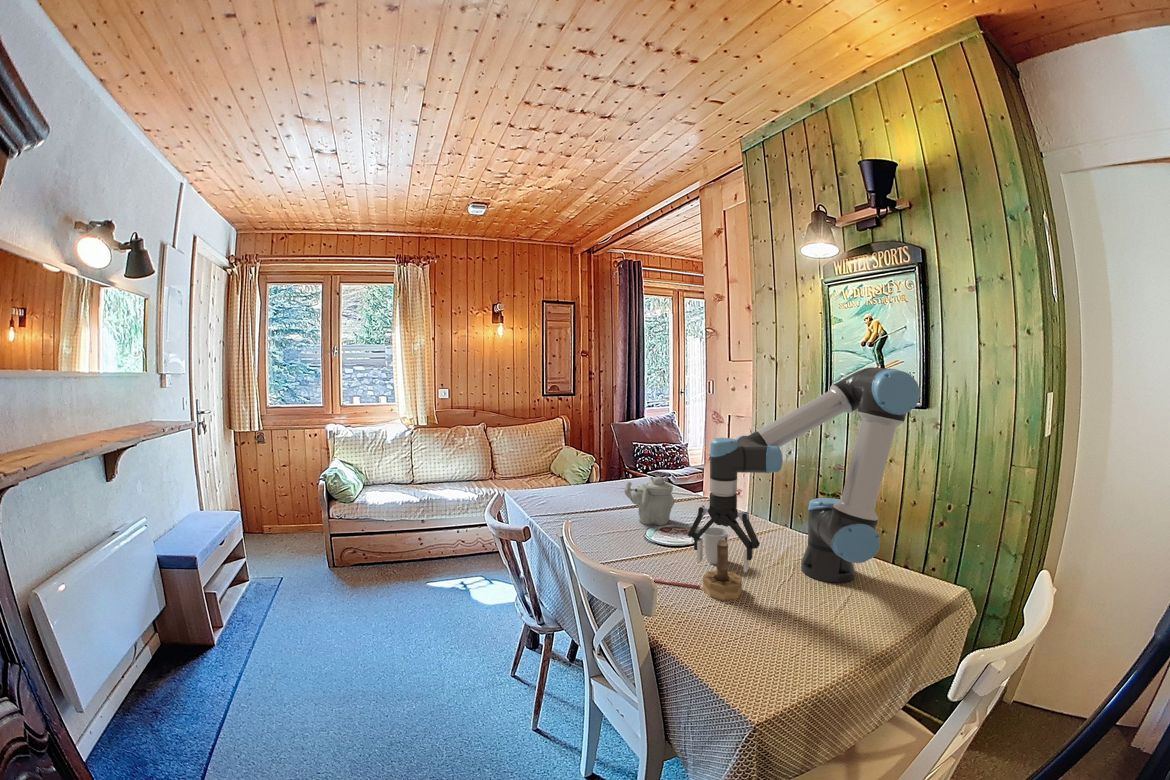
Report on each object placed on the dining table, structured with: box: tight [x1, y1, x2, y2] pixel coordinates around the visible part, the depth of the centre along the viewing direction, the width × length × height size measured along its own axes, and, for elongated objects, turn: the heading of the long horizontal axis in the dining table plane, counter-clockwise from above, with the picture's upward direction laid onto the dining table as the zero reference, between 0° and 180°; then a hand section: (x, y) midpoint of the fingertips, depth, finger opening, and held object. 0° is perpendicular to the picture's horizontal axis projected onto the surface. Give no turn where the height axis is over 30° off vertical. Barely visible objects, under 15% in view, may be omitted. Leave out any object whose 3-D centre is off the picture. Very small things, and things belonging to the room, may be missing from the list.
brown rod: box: [716, 539, 729, 582], centre depth 153 cm, size 3×3×15 cm
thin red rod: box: [653, 578, 701, 589], centre depth 158 cm, size 14×1×1 cm, turn 70°
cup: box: [702, 526, 729, 565], centre depth 174 cm, size 8×8×10 cm
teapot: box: [623, 475, 675, 526], centre depth 214 cm, size 16×15×19 cm
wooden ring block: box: [702, 569, 743, 601], centre depth 153 cm, size 10×10×4 cm
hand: (722, 565), depth 153 cm, fingers open, 13 cm apart
